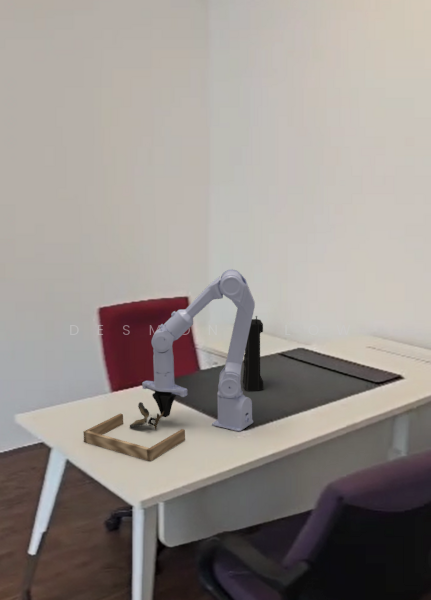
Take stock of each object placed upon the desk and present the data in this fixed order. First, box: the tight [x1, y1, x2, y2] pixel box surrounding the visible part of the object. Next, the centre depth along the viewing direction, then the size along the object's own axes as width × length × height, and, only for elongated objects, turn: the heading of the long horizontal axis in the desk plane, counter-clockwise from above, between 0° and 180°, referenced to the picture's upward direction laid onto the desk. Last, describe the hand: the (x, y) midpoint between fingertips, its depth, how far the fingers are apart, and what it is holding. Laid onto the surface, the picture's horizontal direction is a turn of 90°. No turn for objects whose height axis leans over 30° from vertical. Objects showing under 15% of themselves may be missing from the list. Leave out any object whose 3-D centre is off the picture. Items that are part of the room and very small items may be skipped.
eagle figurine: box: [129, 401, 164, 431], centre depth 187 cm, size 8×7×9 cm
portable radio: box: [242, 315, 264, 392], centre depth 217 cm, size 8×6×25 cm
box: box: [83, 413, 186, 462], centre depth 178 cm, size 23×15×3 cm, turn 57°
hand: (165, 415), depth 190 cm, fingers closed
